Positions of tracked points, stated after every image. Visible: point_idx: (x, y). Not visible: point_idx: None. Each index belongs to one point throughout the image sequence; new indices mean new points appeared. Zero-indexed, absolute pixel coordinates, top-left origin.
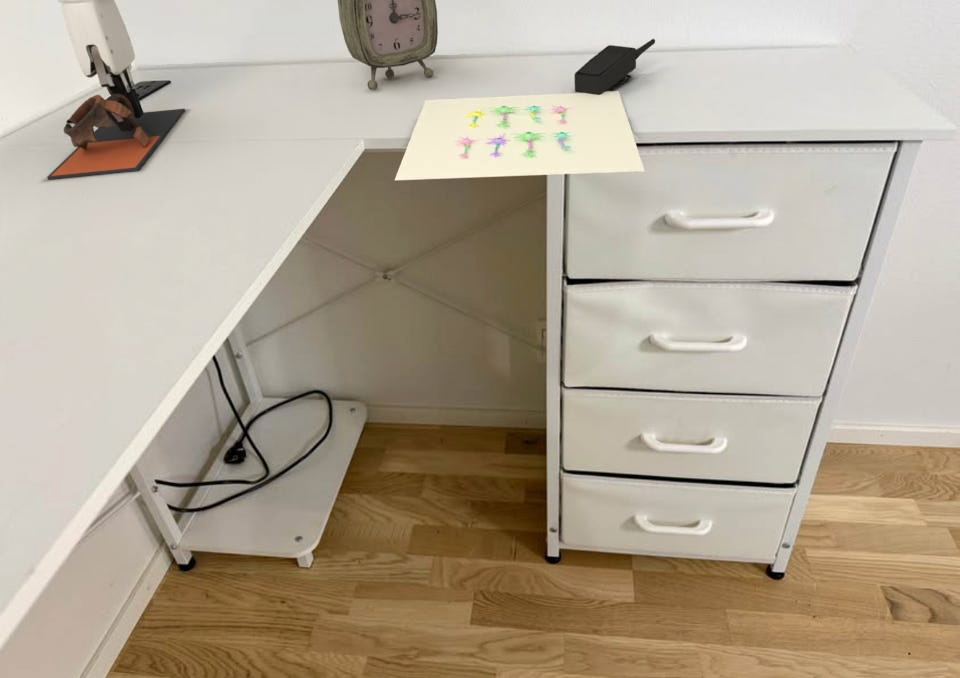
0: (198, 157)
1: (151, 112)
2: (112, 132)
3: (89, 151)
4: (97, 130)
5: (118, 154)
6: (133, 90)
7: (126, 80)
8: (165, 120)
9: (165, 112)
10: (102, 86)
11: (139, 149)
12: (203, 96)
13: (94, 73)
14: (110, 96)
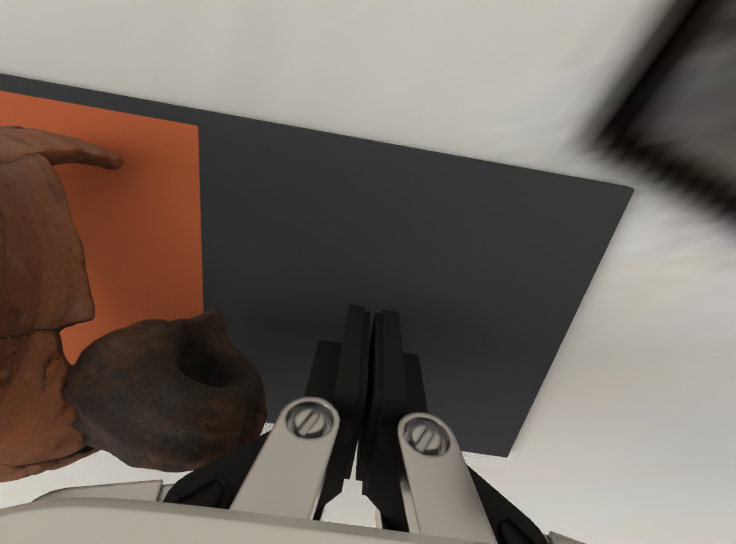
0: (20, 484)
1: (541, 361)
2: (323, 237)
3: (72, 174)
4: (390, 158)
5: None
6: (363, 486)
7: (398, 530)
8: None
9: (500, 406)
10: (44, 498)
11: (71, 359)
12: (657, 490)
13: (266, 516)
14: (127, 440)
